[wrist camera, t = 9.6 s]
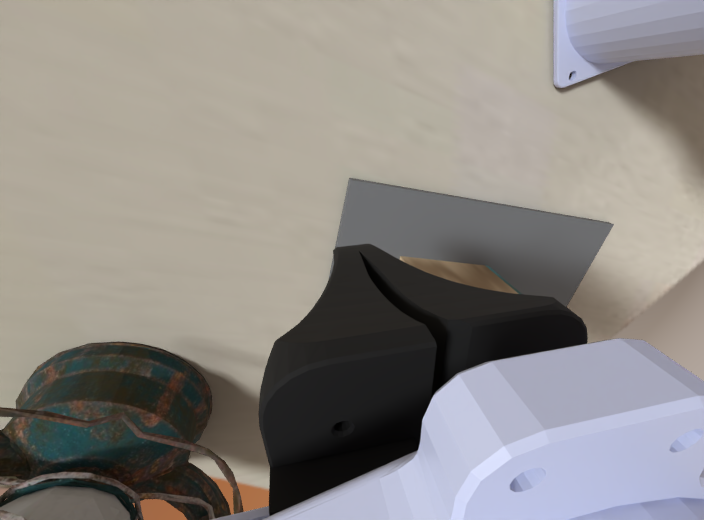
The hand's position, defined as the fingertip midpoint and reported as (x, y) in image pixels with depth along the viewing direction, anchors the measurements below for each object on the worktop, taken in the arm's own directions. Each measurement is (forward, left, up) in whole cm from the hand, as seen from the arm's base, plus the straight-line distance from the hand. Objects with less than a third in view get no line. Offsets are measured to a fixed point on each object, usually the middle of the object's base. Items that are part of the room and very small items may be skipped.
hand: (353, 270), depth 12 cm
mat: (-8, +11, -10) cm, 17 cm away
